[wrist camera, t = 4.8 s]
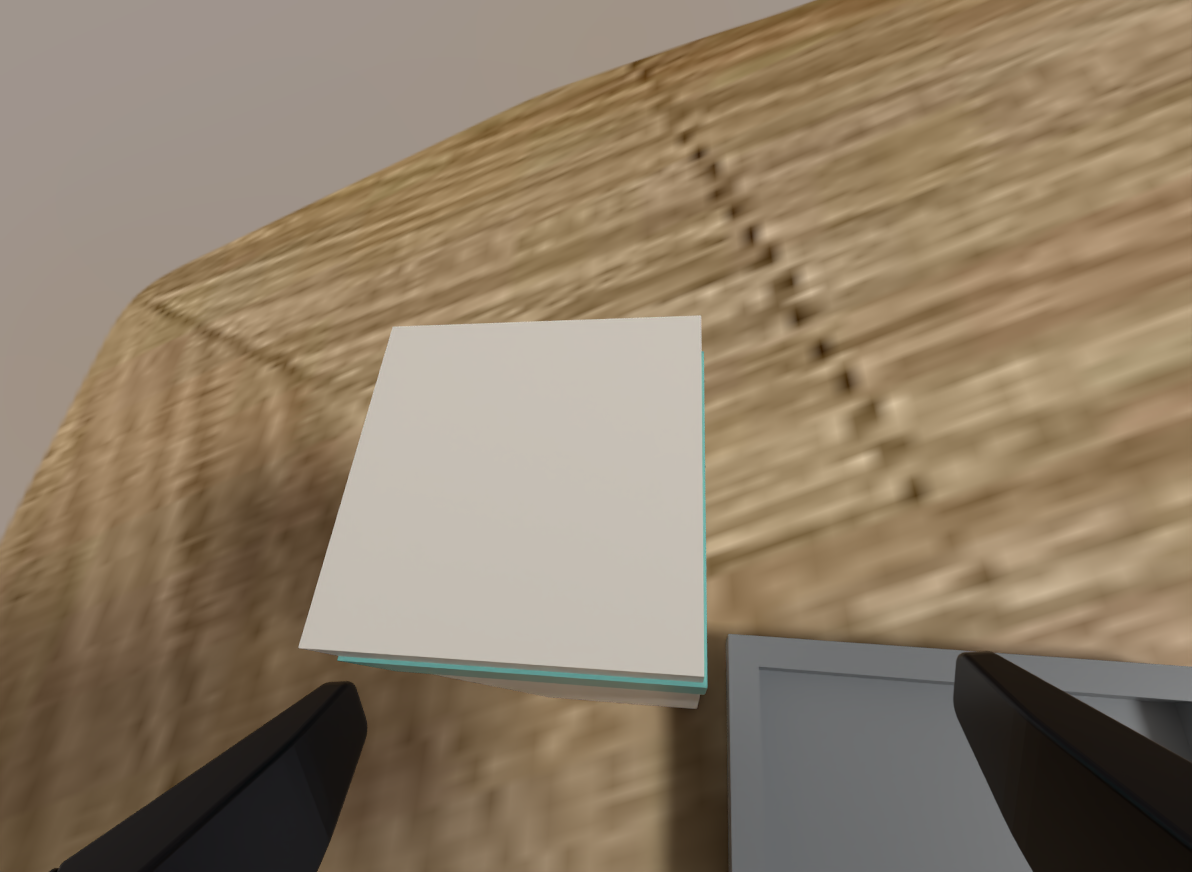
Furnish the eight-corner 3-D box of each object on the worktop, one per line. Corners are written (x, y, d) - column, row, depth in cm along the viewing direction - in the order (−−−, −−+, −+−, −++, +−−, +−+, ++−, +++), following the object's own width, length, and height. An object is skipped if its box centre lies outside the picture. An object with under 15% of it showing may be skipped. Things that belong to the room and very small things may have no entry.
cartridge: (698, 711, 17) (709, 683, 6) (546, 698, 17) (293, 652, 6) (698, 556, 19) (704, 312, 8) (562, 551, 19) (390, 324, 8)
